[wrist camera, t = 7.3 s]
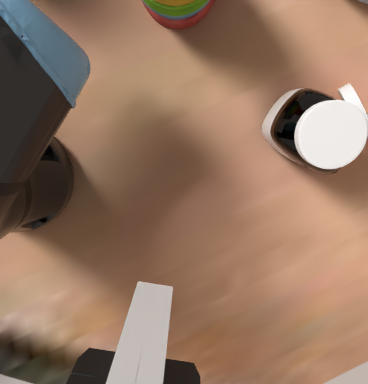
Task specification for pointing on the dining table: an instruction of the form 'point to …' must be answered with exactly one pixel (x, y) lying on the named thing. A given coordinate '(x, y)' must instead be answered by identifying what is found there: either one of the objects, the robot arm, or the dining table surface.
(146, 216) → the dining table surface
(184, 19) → the stacking bear
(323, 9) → the dining table surface
